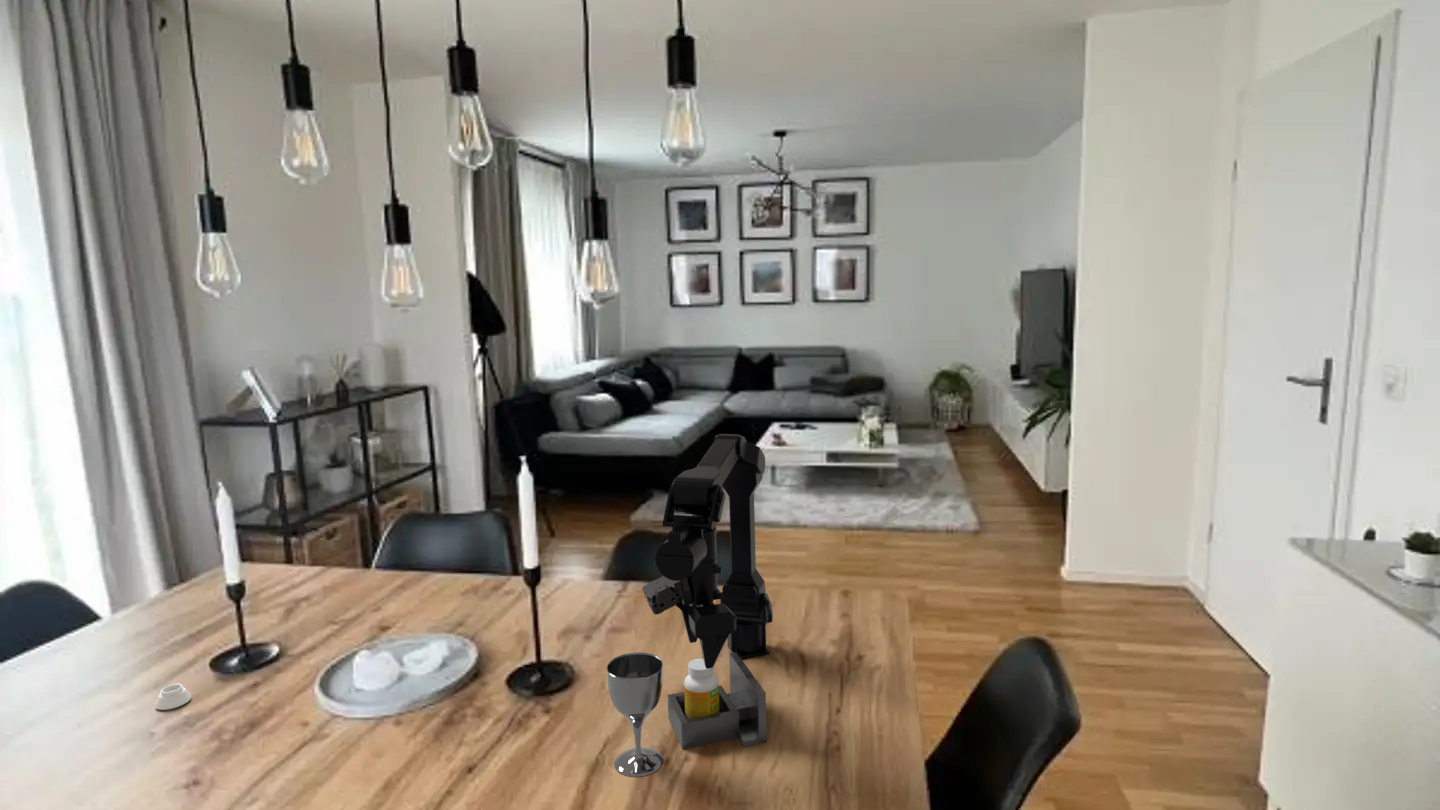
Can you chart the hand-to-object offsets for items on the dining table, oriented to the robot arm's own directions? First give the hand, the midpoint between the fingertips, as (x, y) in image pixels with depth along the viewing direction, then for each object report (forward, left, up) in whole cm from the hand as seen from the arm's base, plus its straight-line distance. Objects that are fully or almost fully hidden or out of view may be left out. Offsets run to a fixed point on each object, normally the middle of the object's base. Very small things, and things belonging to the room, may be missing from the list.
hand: (700, 654), depth 120 cm
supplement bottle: (0, 0, -12) cm, 12 cm away
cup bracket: (-2, 0, -12) cm, 12 cm away
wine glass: (+11, +5, -12) cm, 18 cm away
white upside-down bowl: (+84, -38, -13) cm, 93 cm away
